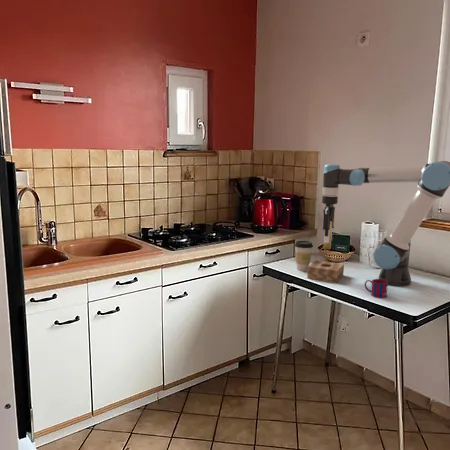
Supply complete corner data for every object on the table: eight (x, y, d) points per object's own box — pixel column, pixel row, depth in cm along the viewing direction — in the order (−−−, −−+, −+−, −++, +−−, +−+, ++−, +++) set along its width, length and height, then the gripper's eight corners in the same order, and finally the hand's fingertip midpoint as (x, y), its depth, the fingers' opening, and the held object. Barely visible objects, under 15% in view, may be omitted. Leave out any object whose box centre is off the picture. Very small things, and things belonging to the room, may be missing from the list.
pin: (331, 248, 233) (332, 221, 230) (329, 249, 230) (331, 222, 227) (324, 247, 235) (325, 220, 232) (322, 248, 231) (324, 221, 229)
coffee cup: (311, 272, 242) (313, 245, 239) (293, 271, 244) (294, 243, 241) (312, 267, 251) (313, 240, 249) (294, 266, 253) (295, 239, 251)
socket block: (343, 275, 238) (344, 264, 237) (336, 282, 226) (337, 270, 224) (315, 271, 244) (315, 260, 243) (307, 278, 232) (307, 266, 231)
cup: (382, 299, 203) (384, 284, 202) (361, 293, 209) (362, 279, 208) (389, 295, 208) (390, 281, 206) (368, 290, 214) (369, 276, 213)
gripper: (327, 193, 236) (324, 237, 240) (318, 196, 222) (315, 243, 226) (341, 194, 233) (338, 239, 237) (333, 197, 218) (330, 245, 223)
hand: (327, 241), depth 231 cm, fingers closed on pin, 3 cm apart
